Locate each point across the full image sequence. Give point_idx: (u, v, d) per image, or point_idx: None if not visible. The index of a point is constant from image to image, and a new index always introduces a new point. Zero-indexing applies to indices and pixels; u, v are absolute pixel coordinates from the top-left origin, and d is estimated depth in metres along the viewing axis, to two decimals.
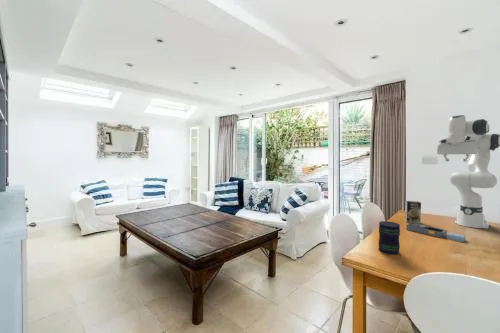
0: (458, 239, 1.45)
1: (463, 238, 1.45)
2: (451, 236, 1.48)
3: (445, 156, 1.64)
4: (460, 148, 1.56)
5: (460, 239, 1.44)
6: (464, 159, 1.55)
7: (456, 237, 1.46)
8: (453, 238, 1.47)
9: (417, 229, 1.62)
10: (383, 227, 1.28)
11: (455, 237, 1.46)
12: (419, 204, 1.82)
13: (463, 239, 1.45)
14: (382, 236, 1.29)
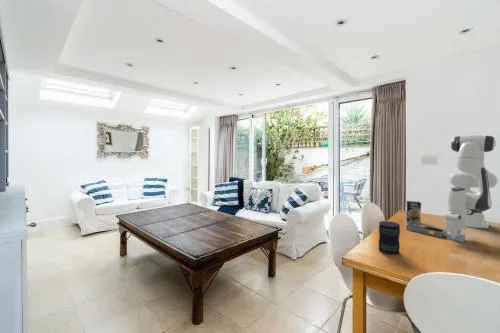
0: (458, 239, 1.45)
1: (463, 238, 1.45)
2: (451, 236, 1.48)
3: None
4: (461, 223, 1.48)
5: (460, 239, 1.44)
6: None
7: (456, 237, 1.46)
8: (453, 238, 1.47)
9: (417, 229, 1.62)
10: (383, 227, 1.28)
11: None
12: (419, 204, 1.82)
13: (463, 239, 1.45)
14: (382, 236, 1.29)
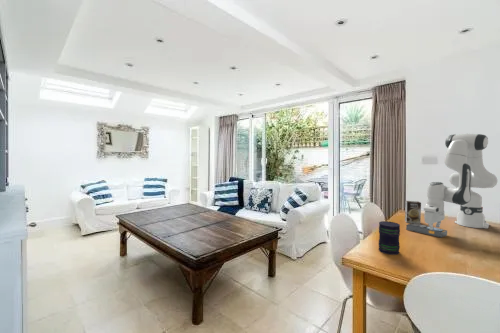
0: None
1: (441, 231, 1.54)
2: None
3: None
4: (440, 215, 1.57)
5: None
6: (439, 225, 1.59)
7: (435, 230, 1.55)
8: None
9: (417, 229, 1.62)
10: (383, 227, 1.28)
11: (434, 230, 1.56)
12: (419, 204, 1.82)
13: None
14: (382, 236, 1.29)
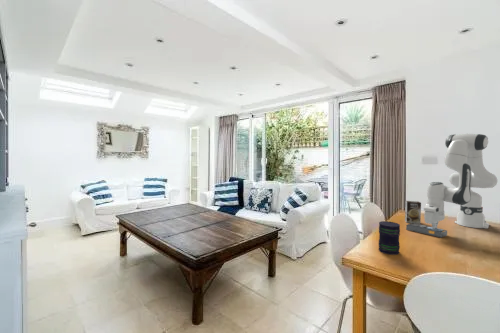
0: None
1: (441, 231, 1.54)
2: None
3: None
4: (440, 215, 1.57)
5: None
6: (436, 226, 1.57)
7: (435, 230, 1.55)
8: None
9: (417, 229, 1.62)
10: (383, 227, 1.28)
11: (434, 230, 1.56)
12: (419, 204, 1.82)
13: None
14: (382, 236, 1.29)
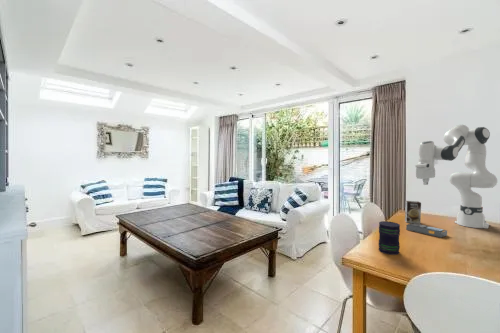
0: None
1: (441, 231, 1.54)
2: None
3: None
4: (430, 172, 1.68)
5: None
6: (427, 182, 1.68)
7: (435, 230, 1.55)
8: None
9: (417, 229, 1.62)
10: (383, 227, 1.28)
11: (434, 230, 1.56)
12: (419, 204, 1.82)
13: None
14: (382, 236, 1.29)
